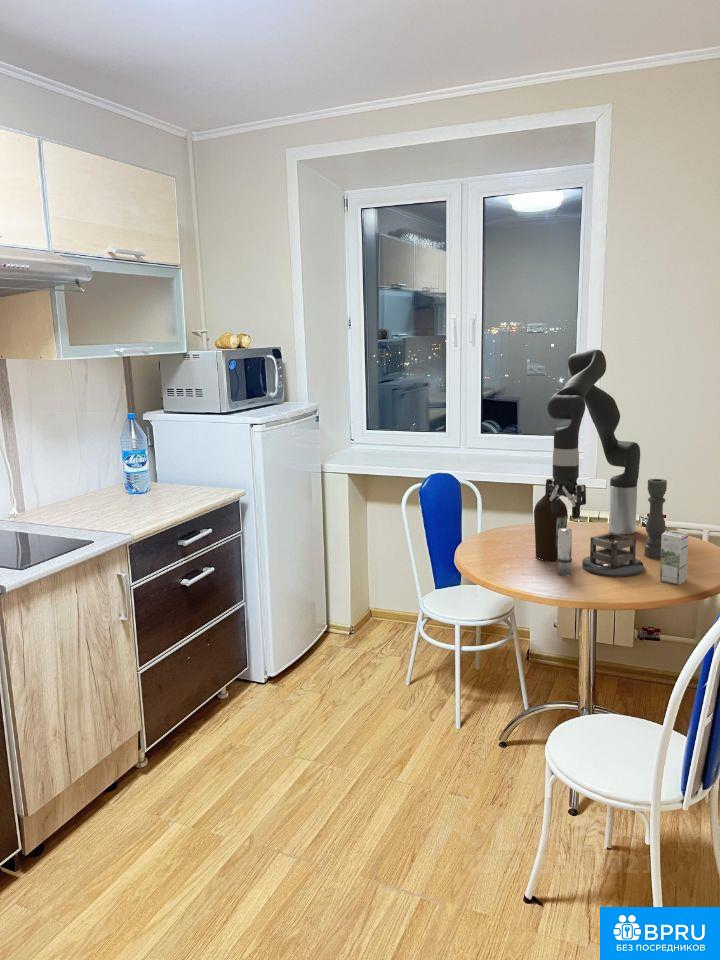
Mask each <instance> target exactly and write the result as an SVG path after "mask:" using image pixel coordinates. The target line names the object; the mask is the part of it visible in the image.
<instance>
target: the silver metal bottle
mask: <svg viewBox="0 0 720 960" xmlns="http://www.w3.org/2000/svg"><path fill="white" fill-rule="evenodd" d="M572 534H573V530H572V528H569V527H567V528H559V529H558V558H557V561H556V562H557V575H559V574H560V575H559V576H562V575H569V576H571V575H572V562H573V559H572V548H573V547H572V546H573V545H572V542H573V541H572V540H573V539H572V537H573V536H572Z"/></svg>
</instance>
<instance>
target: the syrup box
mask: <svg viewBox="0 0 720 960" xmlns="http://www.w3.org/2000/svg"><path fill="white" fill-rule="evenodd" d="M688 550H689V532H683V531H677V530H672V529H671V530H665V532H664V533H663V534H662V537H661V559H660V566H659V567H660V569H659V570H660V572H659V573H660V574H659V581H660V582H664V583H669V584H673V585H678V586H679V585H681V584H683V583H685V582H686V581H687V579H688V577H687V576H688V574H687V573H688V554H689V553H688V552H689V551H688ZM685 580H686V581H685ZM682 582H683V583H682Z"/></svg>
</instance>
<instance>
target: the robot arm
mask: <svg viewBox="0 0 720 960" xmlns="http://www.w3.org/2000/svg"><path fill="white" fill-rule="evenodd" d="M567 367H568V370H569V373H570V376H571V378H569V379H568V380H567V382H566V383H565V385H564V386H563V388H562V389H560V390H558V391H557V392H555V393H554V394H553V395H552V396H551V397H550V399H549V401H548V404H547V409H546V410H547V412H548V415H549V416H550V417H551V418H552V419H554V420H571V421H570V423H569V425H567V426H562V427H557V428H555V430H554V431H553V432H554V433H553V452H552V478H548V479H546V480H545V487H546V491H545V494H544V495H545V497H546V498H549V499H550V501H551V513H558V501H557V500H558V499H559V498H560V497H564V498H567V499H568V501H570V504H571V505H572V506H571V518H572V519H573V520H574V519H579V517H581V506H585V505H586V504H587V491H586V490H587V487H586V486H587V485H585V484H578V479H579V477H580V476H579V475H580V474H579V469H580V453H579V434H580V427H581V424H582V421H583V417H584V415H585V411H586V409H587V411H588V414H589V416H590V418H591V421H592V423H593V425H594V427H595V429H596V431H597V435H598V437H599V439H600V442H601V446H602V450H603V453H604V457H605V459H606V461H607V463H608V464H609V465H610V466H613V467H619V468H620V467H621V468H624V471H623V472H622V473H621V474H617V475H614V476H611V478H610V480H609V481H610V482H609V514H608V515H609V520H608V521H609V523H608V531H609V533H611V532H612V533H616V534H620V535H632V534H636V531H637V505H638V504H637V503H638V501H637V500H638V480H639V477H640V462H641V448H640V445H639V444H638V443H637V442H635V441H625V440H624V441H623V440H618V439H617V438H616V434H615V432H616V430H617V428H618V425H619V423H620V420H621V413H620V410H619V408H618V404H617V402H616V400H615V398H613V396H611V395H610V394H609V393H607V392H606V391H604V390H603V389H602V388H600V387H598V386H596V385H595V384H596V383H597V382H598V381H599V380H600V379H601V378H602V377H603V376H604V375H605V374H606V371H607V360H606V356H605V354H604V352H603V351H602V350H600V349H589V350H585V351H581V352H577V353H576V352H575V353H573V354H571V355H570V356H569V357H568V360H567ZM554 486H555V489H554ZM549 491H550V494H549Z"/></svg>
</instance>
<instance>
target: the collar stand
mask: <svg viewBox="0 0 720 960" xmlns="http://www.w3.org/2000/svg"><path fill="white" fill-rule="evenodd" d="M589 541H590V547H589V555H590V556H586V557H584V558H583V559H582V562H581V567H582V569H583V570H584V571H586V572H588V573H590V574H593V575H598V576H603V577H611V578H612V577H613V578H627V577H633V576H638V575H640V574H641V573H643V572H644V562H642V561H641V560H639V559H637V558H636V555H637V554H636V553H637V552H636V549H637V539H636V538H634V537H630V536H626V535H624V534H616V533H612V532H608V533H604V534H599V535H596V536H595V535H594V536H591V537H590V540H589ZM597 547H600V548H598V549H597ZM626 548H629V550H626Z"/></svg>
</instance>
